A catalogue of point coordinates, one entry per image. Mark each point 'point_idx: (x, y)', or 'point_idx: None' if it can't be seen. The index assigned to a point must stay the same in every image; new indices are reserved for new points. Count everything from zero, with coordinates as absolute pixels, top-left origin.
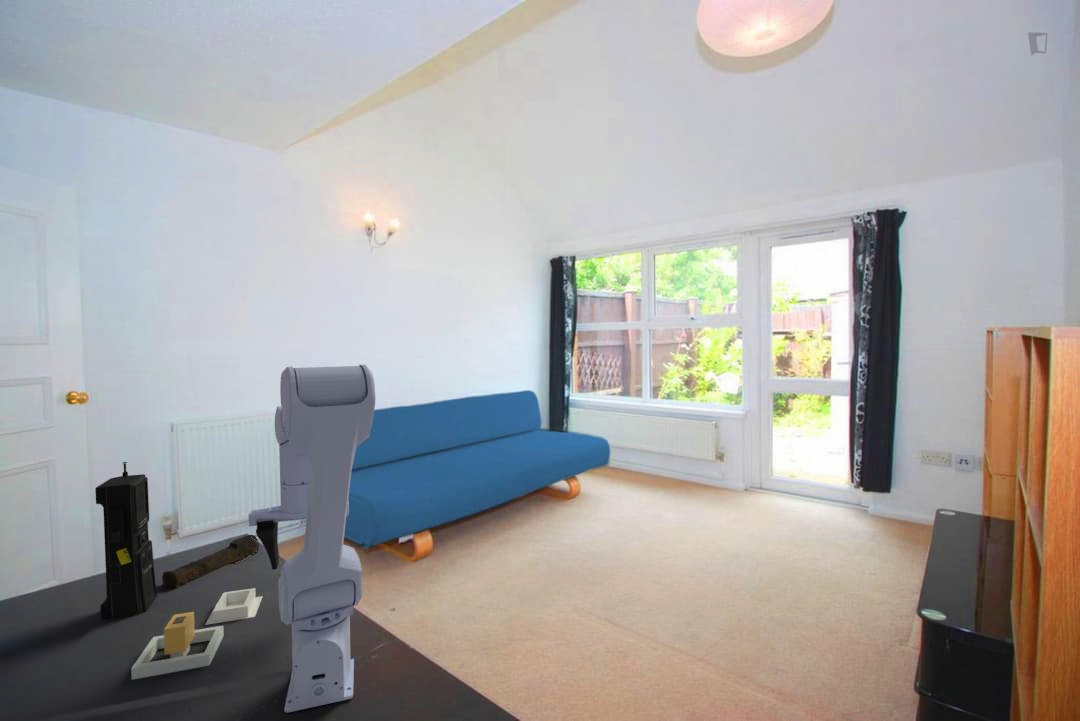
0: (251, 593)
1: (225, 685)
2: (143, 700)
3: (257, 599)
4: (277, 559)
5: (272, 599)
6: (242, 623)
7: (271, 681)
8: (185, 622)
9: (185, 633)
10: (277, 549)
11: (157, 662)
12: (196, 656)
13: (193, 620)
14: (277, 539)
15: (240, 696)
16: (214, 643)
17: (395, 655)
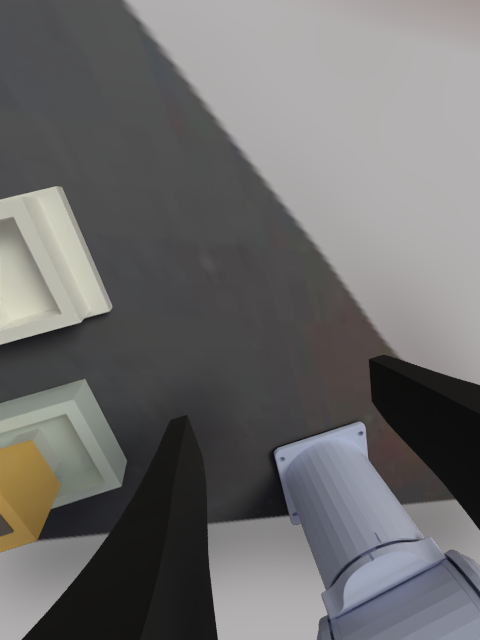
0: (36, 241)
1: None
2: (65, 519)
3: (52, 210)
4: (196, 461)
5: (91, 180)
6: None
7: (248, 473)
8: (23, 530)
9: (44, 518)
10: (185, 473)
11: None
12: (98, 492)
13: (13, 476)
14: (171, 496)
15: (216, 500)
16: (105, 458)
17: None
